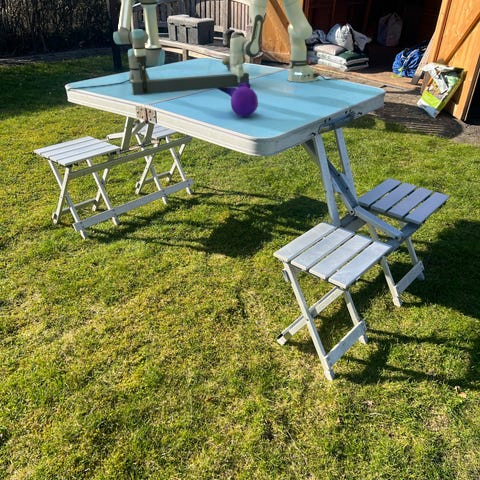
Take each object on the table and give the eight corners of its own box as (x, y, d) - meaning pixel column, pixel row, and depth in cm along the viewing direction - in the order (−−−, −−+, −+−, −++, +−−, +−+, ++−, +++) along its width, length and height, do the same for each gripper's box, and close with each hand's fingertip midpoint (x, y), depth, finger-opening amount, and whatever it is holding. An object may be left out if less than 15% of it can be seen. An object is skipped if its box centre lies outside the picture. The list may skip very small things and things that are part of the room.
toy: (241, 106, 267) (257, 123, 246) (213, 101, 259) (228, 118, 239) (248, 79, 259) (266, 94, 238) (220, 73, 251) (235, 89, 231)
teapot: (225, 72, 362) (225, 52, 354) (219, 70, 371) (218, 51, 363) (248, 69, 371) (248, 50, 364) (241, 67, 380) (241, 48, 372)
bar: (133, 94, 300) (132, 82, 296) (132, 93, 304) (131, 81, 301) (249, 85, 320) (248, 73, 316) (246, 83, 325) (246, 72, 321)
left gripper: (148, 57, 284) (152, 94, 296) (144, 53, 302) (148, 88, 313) (136, 58, 283) (141, 95, 294) (133, 53, 300) (137, 88, 311)
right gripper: (245, 62, 304) (245, 83, 311) (236, 58, 321) (237, 78, 328) (236, 63, 303) (237, 84, 310) (228, 58, 320) (228, 79, 327)
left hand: (144, 91), depth 304 cm, fingers open, 8 cm apart
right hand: (237, 81), depth 319 cm, fingers closed on bar, 5 cm apart
